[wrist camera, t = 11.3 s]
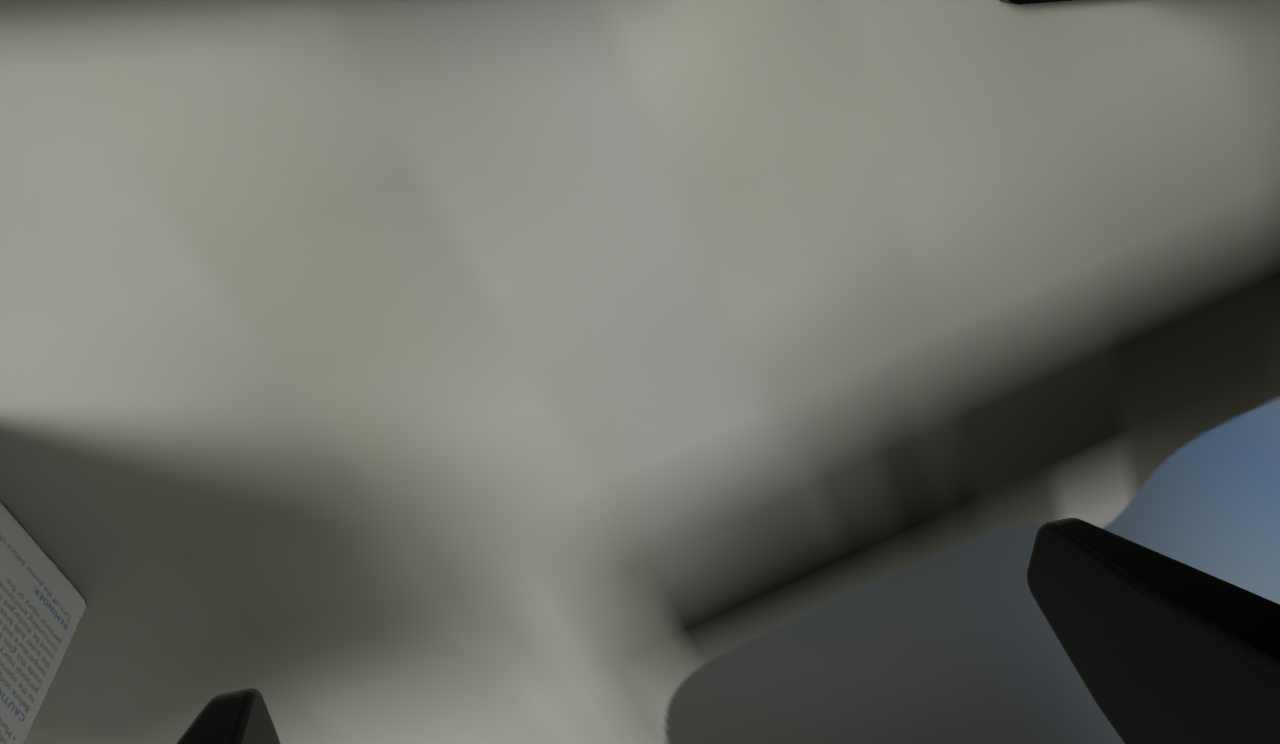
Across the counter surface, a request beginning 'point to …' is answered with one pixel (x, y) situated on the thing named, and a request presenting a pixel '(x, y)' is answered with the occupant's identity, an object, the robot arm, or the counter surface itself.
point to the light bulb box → (30, 627)
